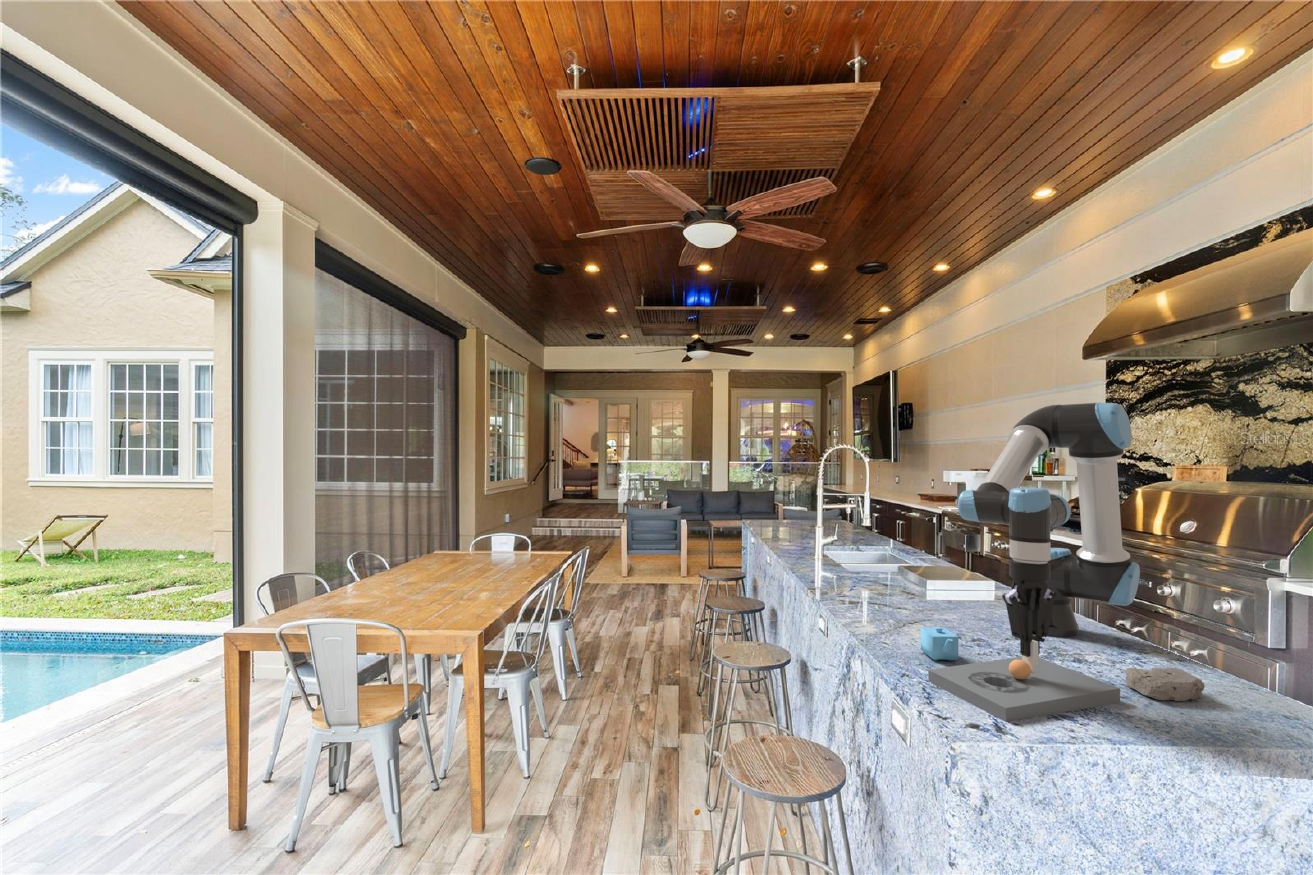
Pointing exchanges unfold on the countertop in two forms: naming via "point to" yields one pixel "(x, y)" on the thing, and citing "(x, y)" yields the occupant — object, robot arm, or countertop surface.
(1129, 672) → the stone
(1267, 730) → the countertop surface
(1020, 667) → the ball
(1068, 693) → the plate
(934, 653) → the light blue teapot
